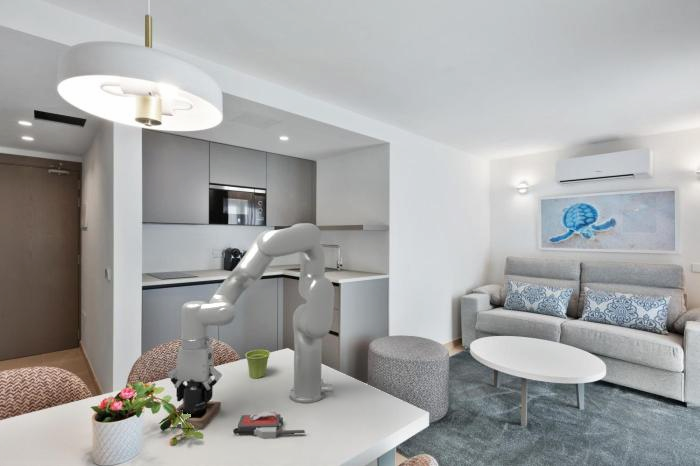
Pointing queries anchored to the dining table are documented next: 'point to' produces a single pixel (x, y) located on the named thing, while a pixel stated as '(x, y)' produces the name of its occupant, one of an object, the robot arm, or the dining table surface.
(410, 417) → the dining table surface
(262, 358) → the plant pot
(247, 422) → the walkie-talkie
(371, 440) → the dining table surface
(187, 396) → the supplement bottle
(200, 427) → the wooden tray
